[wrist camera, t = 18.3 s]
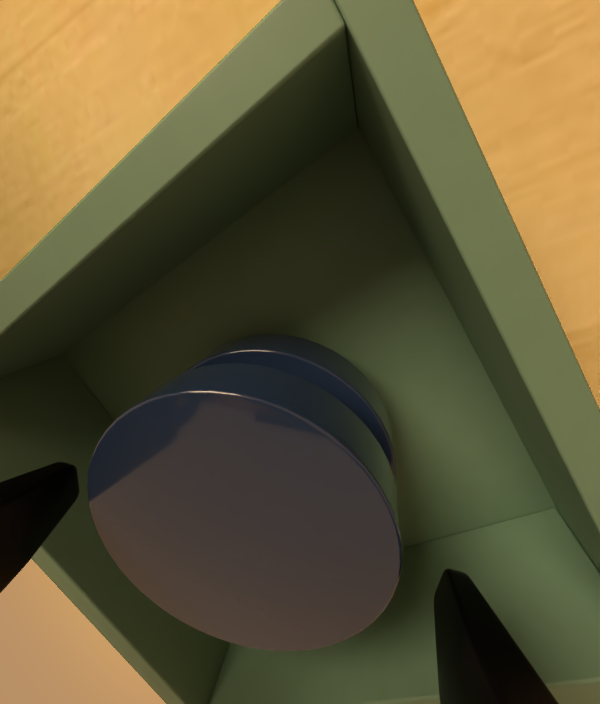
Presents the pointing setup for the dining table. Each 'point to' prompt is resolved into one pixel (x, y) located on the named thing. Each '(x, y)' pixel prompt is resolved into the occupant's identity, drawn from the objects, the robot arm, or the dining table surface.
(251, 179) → the tub
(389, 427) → the dark round disc
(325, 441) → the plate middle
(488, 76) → the dining table surface
